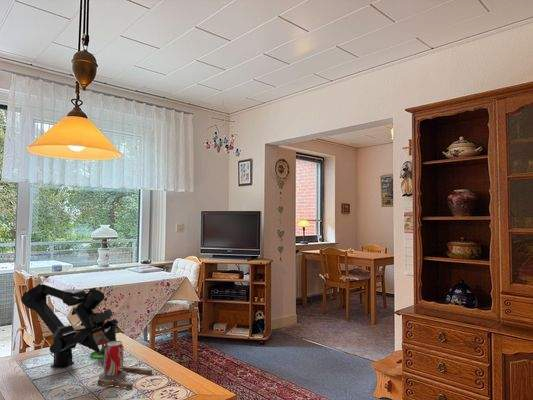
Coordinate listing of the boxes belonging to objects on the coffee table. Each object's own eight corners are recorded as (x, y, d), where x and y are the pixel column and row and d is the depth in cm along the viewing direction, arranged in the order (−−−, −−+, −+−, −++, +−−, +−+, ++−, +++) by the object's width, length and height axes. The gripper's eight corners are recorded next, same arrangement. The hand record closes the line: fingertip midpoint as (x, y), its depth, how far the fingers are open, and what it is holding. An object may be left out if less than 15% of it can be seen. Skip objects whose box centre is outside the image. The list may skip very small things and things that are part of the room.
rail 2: (119, 370, 154) (119, 366, 154) (121, 369, 155) (121, 365, 155) (150, 374, 150) (150, 370, 150) (152, 373, 151) (152, 369, 152)
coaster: (93, 379, 145) (93, 378, 145) (110, 369, 155) (110, 368, 155) (115, 382, 143) (116, 381, 143) (131, 372, 152) (131, 371, 152)
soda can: (116, 378, 145) (117, 346, 146) (99, 376, 147) (100, 345, 147) (126, 371, 152) (127, 341, 153) (110, 369, 154) (111, 339, 154)
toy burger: (123, 353, 173) (124, 320, 173) (96, 361, 163) (97, 326, 164) (111, 347, 180) (112, 315, 181) (84, 354, 171) (85, 320, 171)
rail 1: (97, 384, 141) (97, 380, 141) (99, 382, 142) (100, 378, 142) (130, 388, 138) (130, 384, 138) (132, 387, 139) (132, 383, 139)
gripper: (80, 309, 144) (101, 342, 140) (115, 299, 162) (135, 328, 157) (63, 327, 146) (84, 360, 142) (100, 315, 164) (119, 345, 160)
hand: (107, 347), depth 150 cm, fingers open, 9 cm apart
